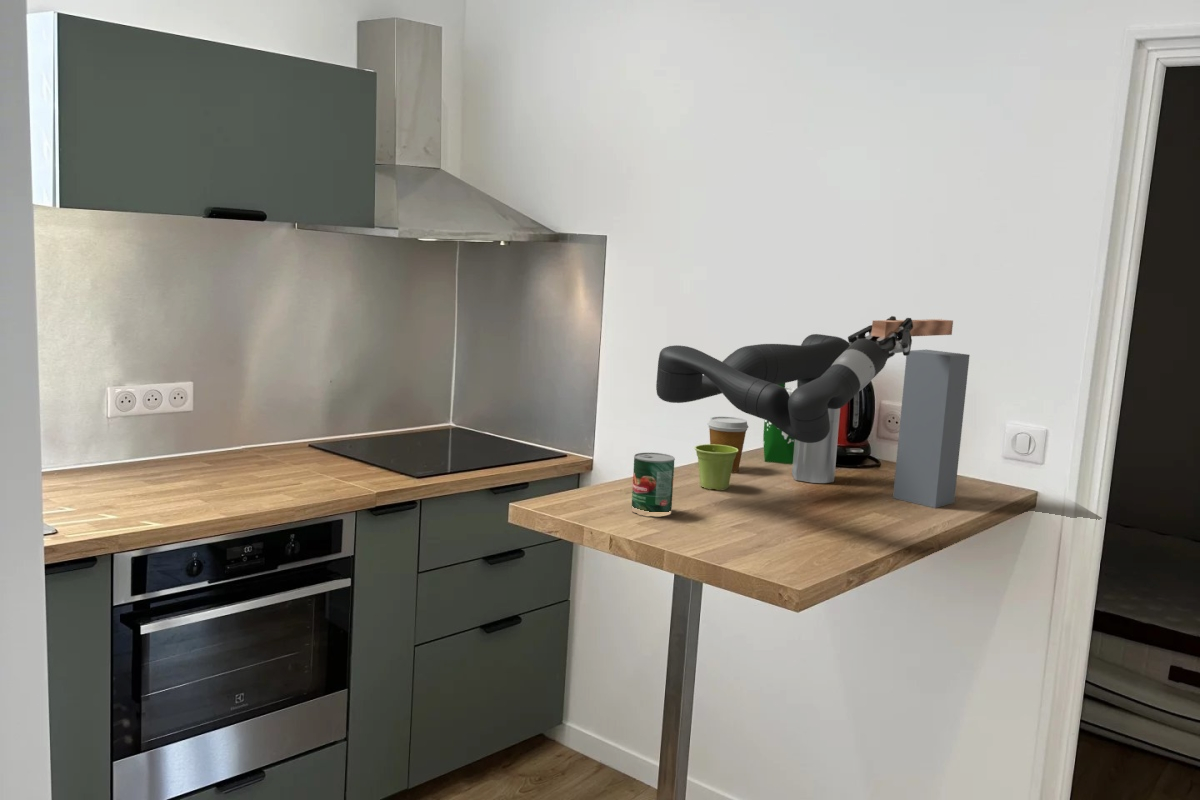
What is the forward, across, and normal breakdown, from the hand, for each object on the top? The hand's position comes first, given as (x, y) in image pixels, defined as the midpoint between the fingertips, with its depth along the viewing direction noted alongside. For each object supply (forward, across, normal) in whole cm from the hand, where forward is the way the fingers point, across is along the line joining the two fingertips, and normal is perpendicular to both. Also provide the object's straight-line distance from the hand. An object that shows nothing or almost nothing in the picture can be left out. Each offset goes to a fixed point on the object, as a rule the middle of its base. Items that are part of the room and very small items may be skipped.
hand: (902, 321), depth 206 cm
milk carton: (-1, +43, +45) cm, 62 cm away
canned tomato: (-56, +25, +13) cm, 63 cm away
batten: (+3, 0, +5) cm, 5 cm away
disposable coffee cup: (-19, +43, +34) cm, 58 cm away
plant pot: (-33, +32, +26) cm, 53 cm away
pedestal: (-6, 0, +41) cm, 42 cm away
